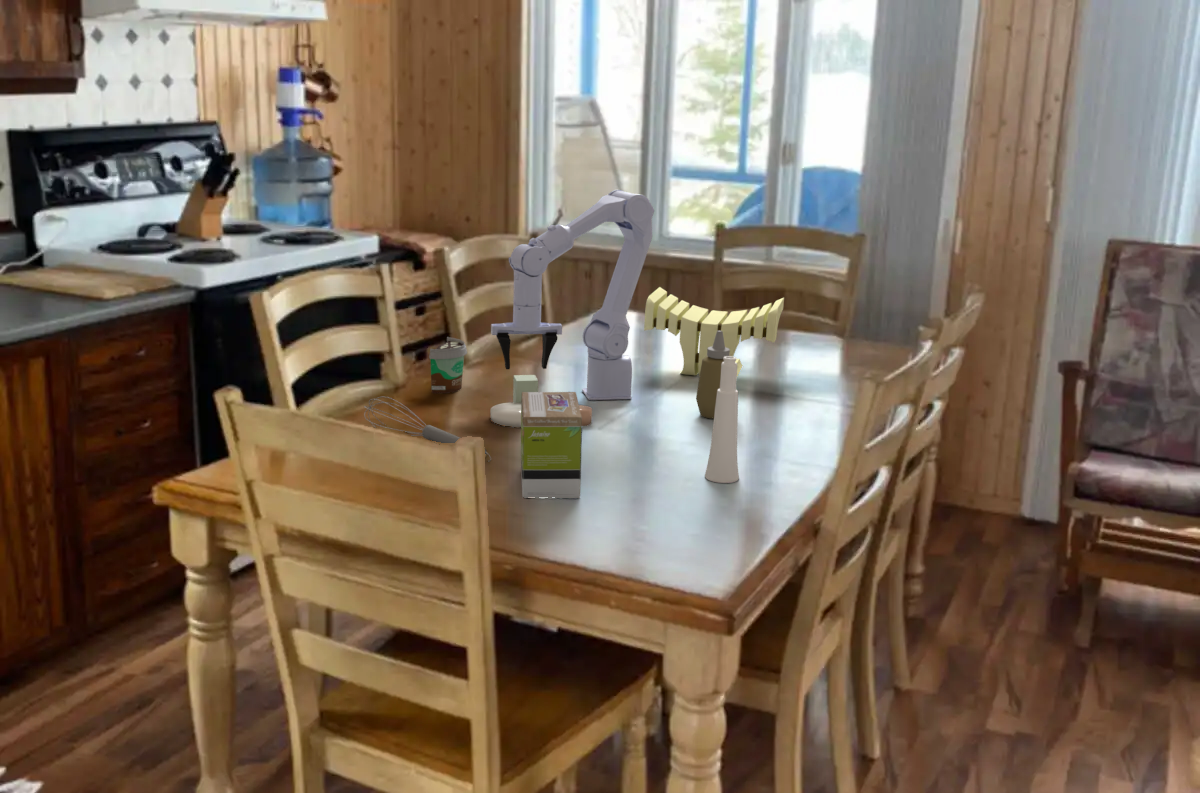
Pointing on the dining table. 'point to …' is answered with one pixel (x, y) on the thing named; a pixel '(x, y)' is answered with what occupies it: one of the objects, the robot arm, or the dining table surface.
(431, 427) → the kitchen whisk
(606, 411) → the dining table surface
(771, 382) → the dining table surface
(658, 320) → the slatted curved stool
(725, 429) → the cosmetic bottle
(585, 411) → the tan rounded knob
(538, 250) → the robot arm
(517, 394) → the sage block
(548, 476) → the tea box
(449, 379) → the food container
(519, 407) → the stand
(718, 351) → the squeeze bottle
